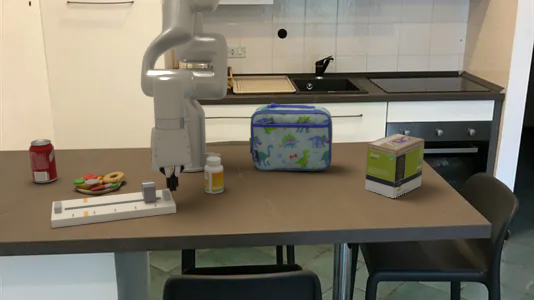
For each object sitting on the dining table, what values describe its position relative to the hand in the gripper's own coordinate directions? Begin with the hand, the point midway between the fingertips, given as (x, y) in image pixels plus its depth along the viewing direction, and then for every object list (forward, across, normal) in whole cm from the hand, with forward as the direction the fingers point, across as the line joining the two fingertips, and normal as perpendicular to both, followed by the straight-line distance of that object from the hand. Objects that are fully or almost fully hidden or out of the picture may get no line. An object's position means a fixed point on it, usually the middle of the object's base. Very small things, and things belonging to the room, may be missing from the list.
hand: (172, 189), depth 143 cm
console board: (+4, +15, 0) cm, 16 cm away
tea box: (+4, -63, +8) cm, 63 cm away
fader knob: (+2, +6, 0) cm, 6 cm away
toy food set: (+5, +18, -19) cm, 27 cm away
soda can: (+4, +33, -29) cm, 44 cm away
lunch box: (+4, -41, -18) cm, 45 cm away
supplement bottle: (+4, -13, -6) cm, 15 cm away
